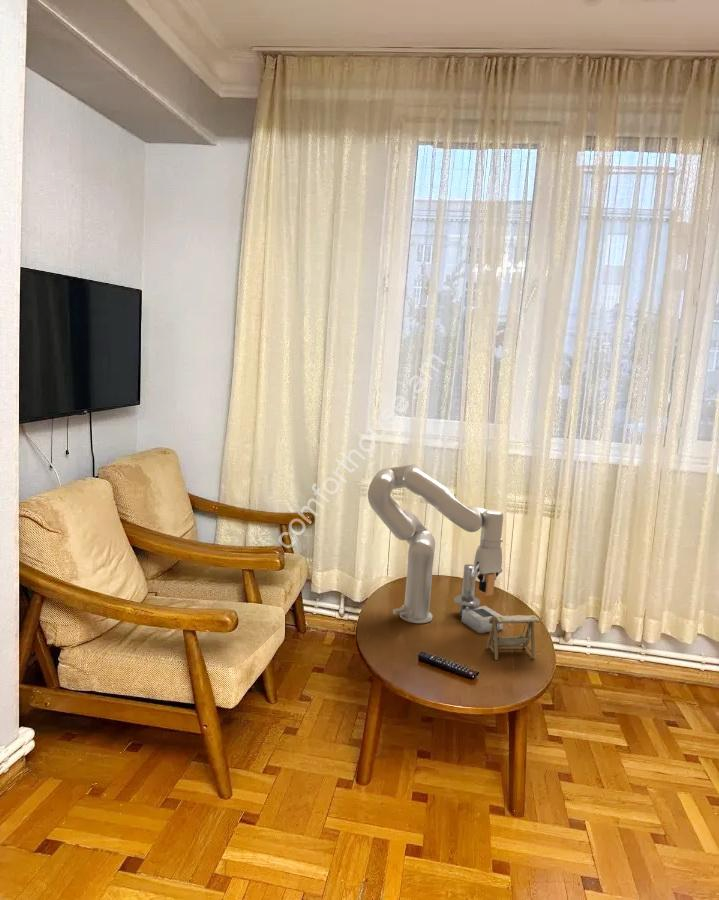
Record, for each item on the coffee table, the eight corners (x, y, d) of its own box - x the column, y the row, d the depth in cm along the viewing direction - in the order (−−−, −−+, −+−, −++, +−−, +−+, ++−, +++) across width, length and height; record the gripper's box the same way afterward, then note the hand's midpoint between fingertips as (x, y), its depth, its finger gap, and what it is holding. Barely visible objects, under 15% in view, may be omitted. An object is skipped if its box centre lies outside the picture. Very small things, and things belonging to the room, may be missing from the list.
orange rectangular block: (486, 595, 254) (488, 575, 253) (478, 591, 258) (480, 570, 257) (493, 594, 255) (495, 574, 254) (484, 590, 260) (486, 570, 258)
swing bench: (524, 647, 243) (529, 608, 240) (535, 660, 233) (540, 619, 231) (485, 648, 240) (489, 608, 238) (494, 660, 231) (499, 619, 228)
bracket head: (479, 633, 252) (484, 581, 248) (446, 612, 269) (451, 563, 266) (502, 629, 257) (508, 578, 254) (469, 608, 275) (474, 561, 271)
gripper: (501, 538, 261) (496, 584, 264) (466, 542, 253) (462, 589, 256) (514, 544, 254) (509, 591, 257) (479, 548, 247) (474, 596, 250)
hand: (486, 589), depth 257 cm, fingers closed on orange rectangular block, 3 cm apart
